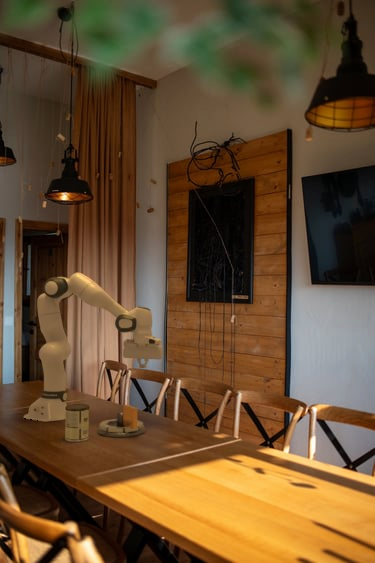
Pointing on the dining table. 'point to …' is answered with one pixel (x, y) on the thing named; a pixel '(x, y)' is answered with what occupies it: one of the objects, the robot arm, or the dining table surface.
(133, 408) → the curved stand with block
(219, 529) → the dining table surface
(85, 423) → the coffee can
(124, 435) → the grey disc with peg
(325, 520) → the dining table surface
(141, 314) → the robot arm
